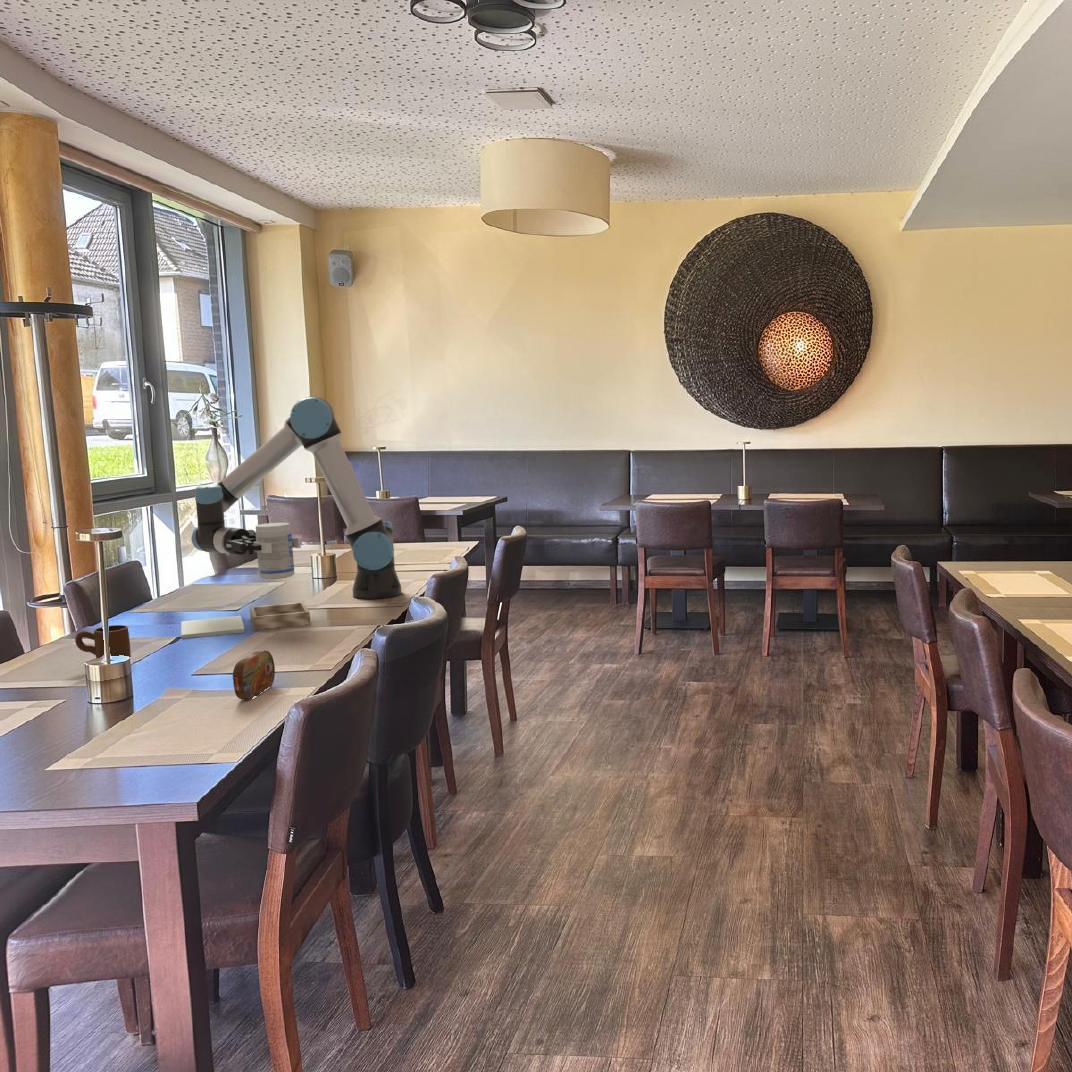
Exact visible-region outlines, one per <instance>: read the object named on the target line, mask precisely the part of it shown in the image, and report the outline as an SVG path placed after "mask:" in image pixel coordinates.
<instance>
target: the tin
mask: <svg viewBox="0 0 1072 1072" xmlns="http://www.w3.org/2000/svg"><path fill="white" fill-rule="evenodd" d="M275 669H276V667H275V662H274V658H273V655H272V654H271V652H269V651H268V650H258V651H253V652H252V653H250V654H249V655H247V656H245V657H244V658H243V659H240V660H238V661H237V662H236V663H235V666H234V667H233V671H232V681H233V688H234V693H235V696H236V697H237V698H238V699H239V700H242V699H248V700H252V698H253V697H254V696H258V695H259V694H260V693H261V692H263V691H264V690H265V689H267V688H268V687H271V688H272V686H273V683H274V680H275V675H276V670H275ZM258 697H259V696H258ZM252 701H253V700H252Z"/></svg>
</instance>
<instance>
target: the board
mask: <svg viewBox="0 0 1072 1072" xmlns="http://www.w3.org/2000/svg"><path fill="white" fill-rule="evenodd" d="M180 627H181V628H180V633H181V634H180V636H181V637H180V639H182V640H183V639H192V638H202V637H210V636H220V635H221V636H223V635H230V634H241V633H245V626H244V622H243V618H242V616H241V615H236V616H234V615H233V616H225V617H213V618H203V619H191V620H182V621H181V626H180Z"/></svg>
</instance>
